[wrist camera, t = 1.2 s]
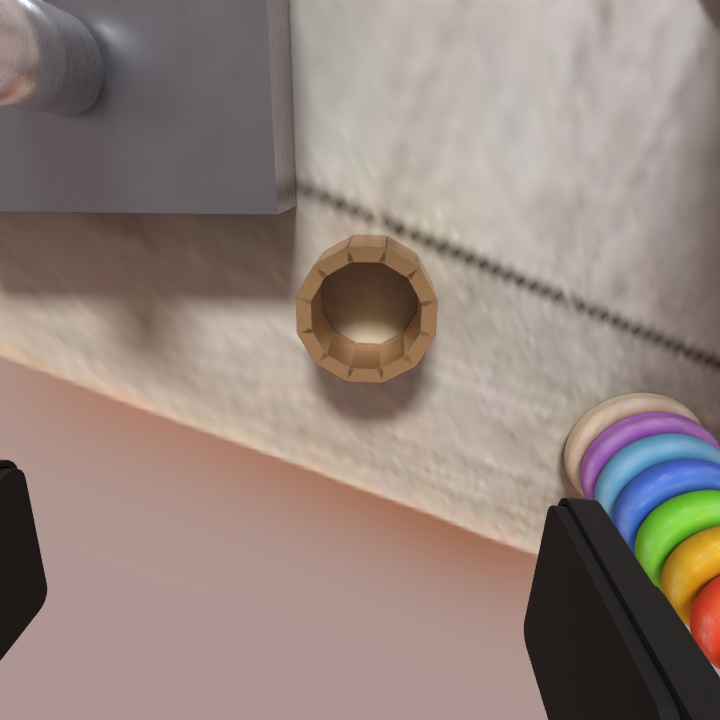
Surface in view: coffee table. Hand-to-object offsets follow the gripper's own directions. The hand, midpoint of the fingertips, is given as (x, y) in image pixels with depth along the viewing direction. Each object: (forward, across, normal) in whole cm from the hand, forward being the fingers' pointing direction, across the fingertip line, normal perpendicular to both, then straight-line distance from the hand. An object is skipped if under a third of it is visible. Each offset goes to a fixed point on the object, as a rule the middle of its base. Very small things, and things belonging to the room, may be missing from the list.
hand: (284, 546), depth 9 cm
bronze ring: (+21, -1, 0) cm, 21 cm away
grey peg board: (+21, +12, -10) cm, 27 cm away
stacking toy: (+22, -17, +9) cm, 29 cm away
